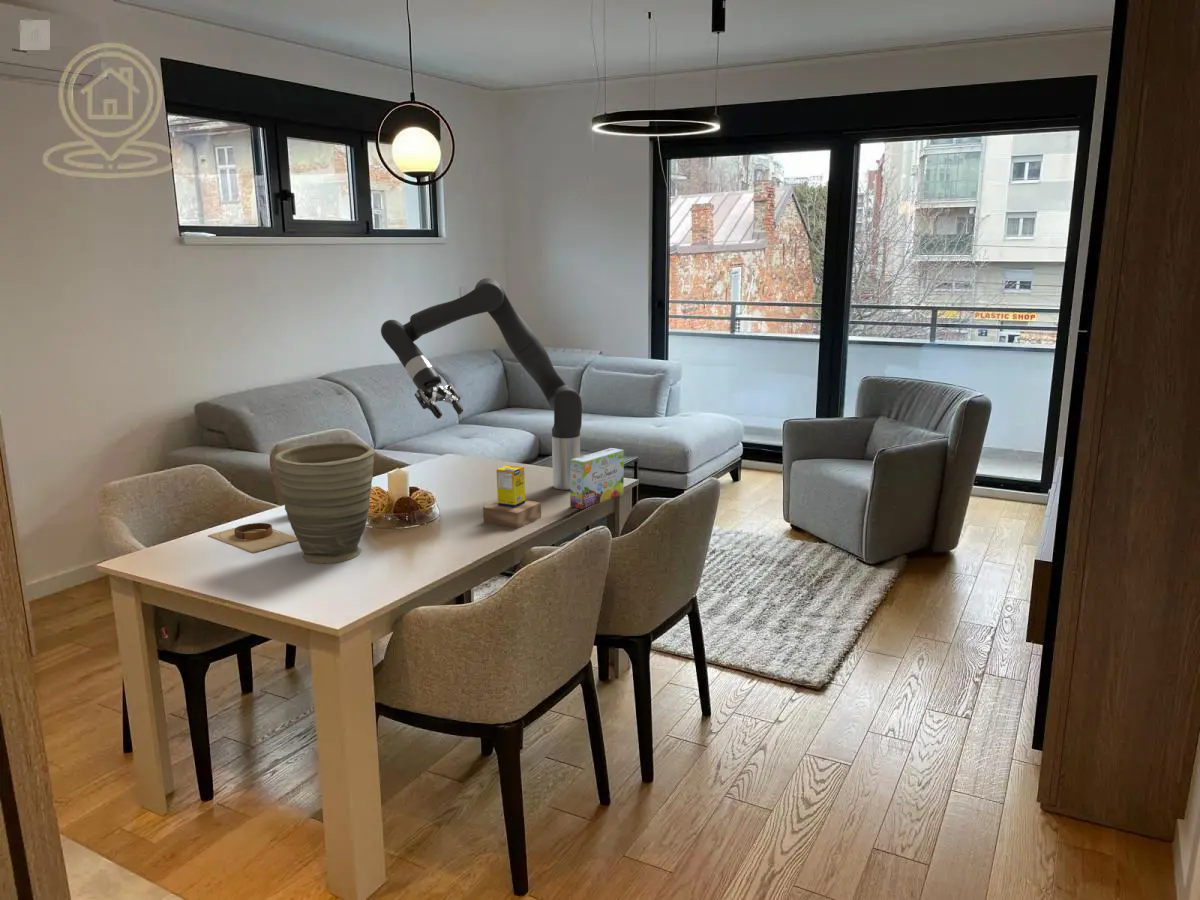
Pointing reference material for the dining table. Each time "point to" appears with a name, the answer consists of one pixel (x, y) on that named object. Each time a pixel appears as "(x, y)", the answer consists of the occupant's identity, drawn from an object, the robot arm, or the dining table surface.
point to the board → (254, 537)
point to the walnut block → (512, 514)
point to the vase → (327, 497)
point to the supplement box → (511, 486)
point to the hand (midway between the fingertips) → (450, 414)
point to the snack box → (596, 477)
